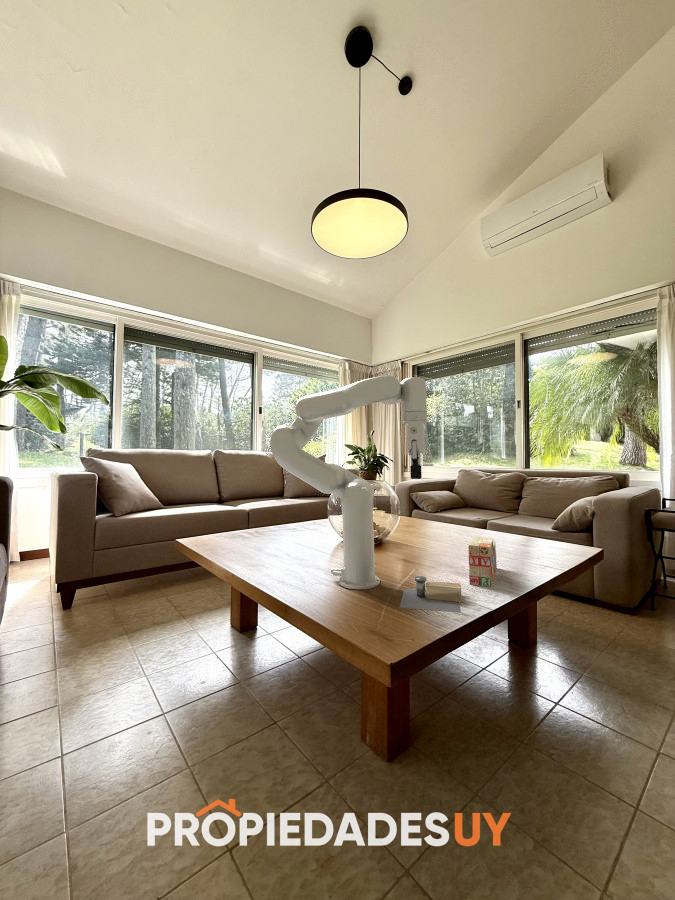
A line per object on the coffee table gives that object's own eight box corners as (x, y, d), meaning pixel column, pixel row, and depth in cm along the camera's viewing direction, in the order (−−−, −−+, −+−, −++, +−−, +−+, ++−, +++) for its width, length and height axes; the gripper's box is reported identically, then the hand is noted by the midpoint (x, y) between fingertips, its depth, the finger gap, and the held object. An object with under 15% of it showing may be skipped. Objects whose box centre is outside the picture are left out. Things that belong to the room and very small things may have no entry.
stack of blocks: (477, 566, 131) (476, 531, 132) (497, 568, 129) (495, 532, 129) (469, 585, 112) (468, 544, 113) (491, 588, 110) (490, 546, 110)
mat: (399, 608, 96) (399, 607, 96) (404, 589, 110) (404, 588, 110) (460, 613, 93) (460, 612, 93) (458, 593, 106) (458, 592, 106)
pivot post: (414, 597, 103) (414, 579, 103) (415, 593, 106) (414, 575, 106) (426, 598, 102) (426, 580, 102) (427, 594, 105) (426, 576, 105)
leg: (461, 602, 99) (460, 588, 99) (426, 598, 102) (425, 585, 102) (461, 598, 101) (461, 584, 102) (427, 594, 105) (427, 581, 105)
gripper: (426, 415, 107) (428, 480, 106) (427, 420, 121) (429, 477, 121) (399, 416, 109) (401, 480, 108) (404, 421, 123) (405, 477, 123)
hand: (416, 478), depth 114 cm, fingers closed
